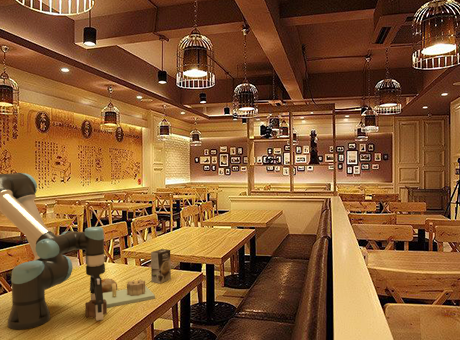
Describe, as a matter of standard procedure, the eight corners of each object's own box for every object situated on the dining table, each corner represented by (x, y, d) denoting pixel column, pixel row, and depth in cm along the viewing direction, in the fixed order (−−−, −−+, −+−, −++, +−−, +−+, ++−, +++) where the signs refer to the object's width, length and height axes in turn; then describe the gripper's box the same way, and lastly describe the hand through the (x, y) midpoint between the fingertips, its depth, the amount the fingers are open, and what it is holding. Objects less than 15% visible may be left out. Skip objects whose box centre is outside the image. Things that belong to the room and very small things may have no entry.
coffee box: (160, 283, 198) (159, 253, 198) (151, 281, 201) (150, 251, 201) (171, 279, 206) (170, 249, 205) (162, 277, 209) (161, 248, 209)
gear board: (101, 308, 165) (101, 291, 165) (96, 297, 179) (95, 281, 179) (155, 298, 176) (154, 282, 176) (145, 288, 190) (145, 273, 190)
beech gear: (134, 297, 174) (134, 286, 174) (123, 293, 180) (123, 283, 179) (148, 292, 181) (148, 281, 181) (138, 288, 186) (137, 278, 186)
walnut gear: (87, 319, 154) (86, 307, 153) (84, 312, 161) (84, 301, 161) (108, 315, 157) (107, 303, 157) (104, 308, 165) (104, 297, 165)
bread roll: (107, 302, 183) (113, 287, 182) (89, 292, 184) (95, 278, 184) (117, 295, 192) (122, 281, 192) (100, 285, 194) (106, 272, 193)
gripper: (110, 269, 149) (111, 322, 150) (99, 256, 171) (101, 302, 172) (90, 272, 146) (91, 326, 146) (82, 259, 168) (83, 306, 168)
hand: (96, 314), depth 159 cm, fingers open, 13 cm apart
